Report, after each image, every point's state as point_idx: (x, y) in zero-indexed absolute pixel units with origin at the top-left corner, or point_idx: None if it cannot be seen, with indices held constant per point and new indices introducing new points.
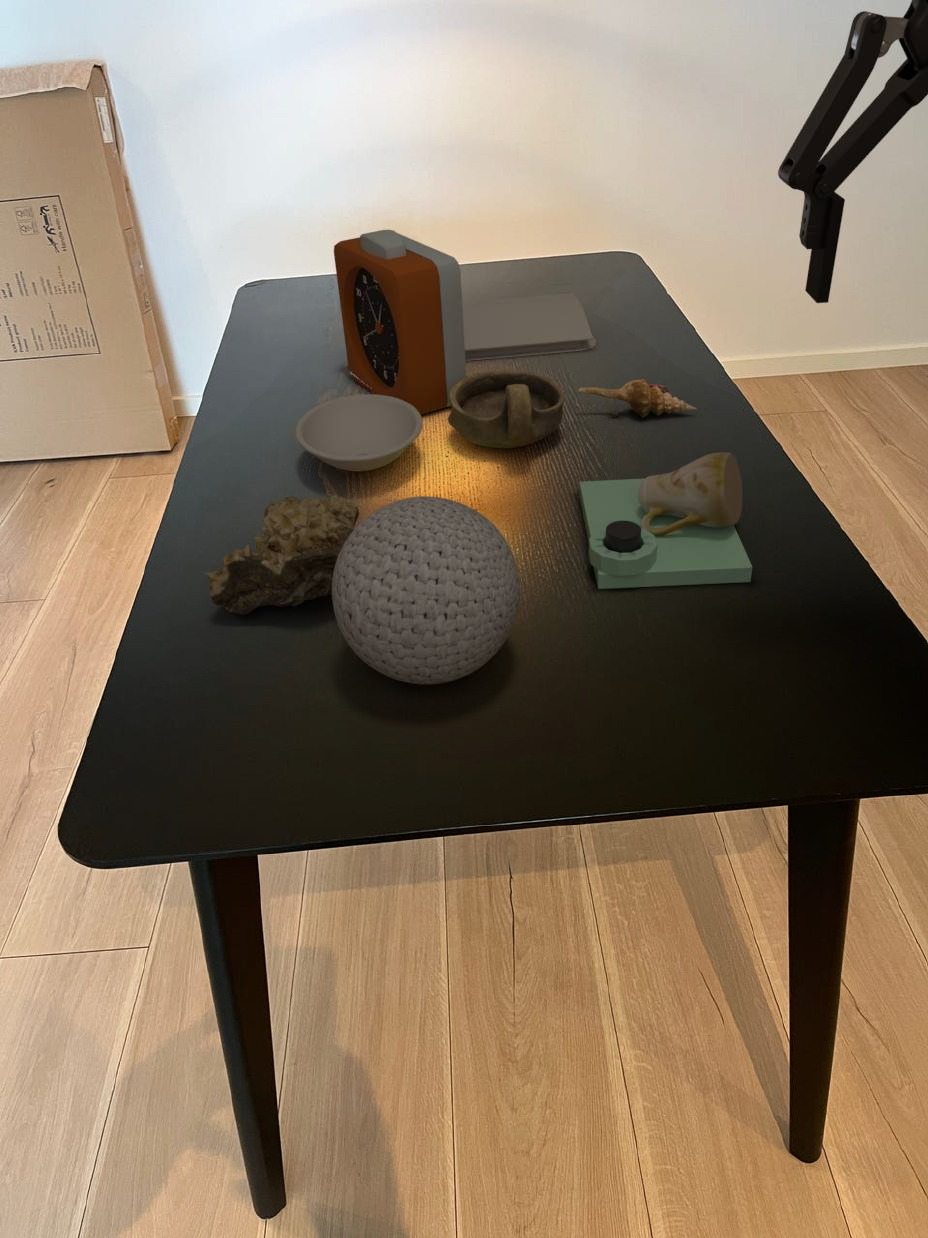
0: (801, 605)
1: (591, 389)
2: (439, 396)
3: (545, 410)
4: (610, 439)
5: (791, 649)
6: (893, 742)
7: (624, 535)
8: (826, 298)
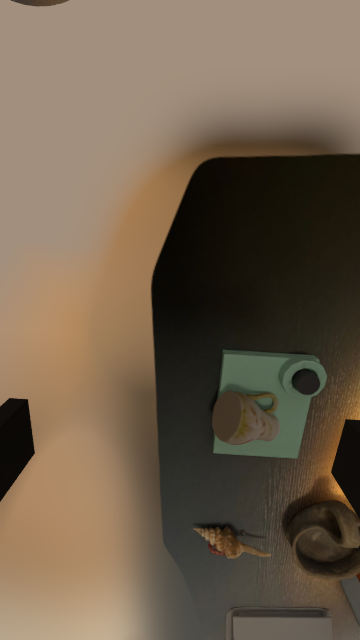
0: (201, 323)
1: (262, 554)
2: None
3: (313, 527)
4: (253, 506)
5: (222, 283)
6: (198, 192)
7: (310, 378)
8: (353, 423)
